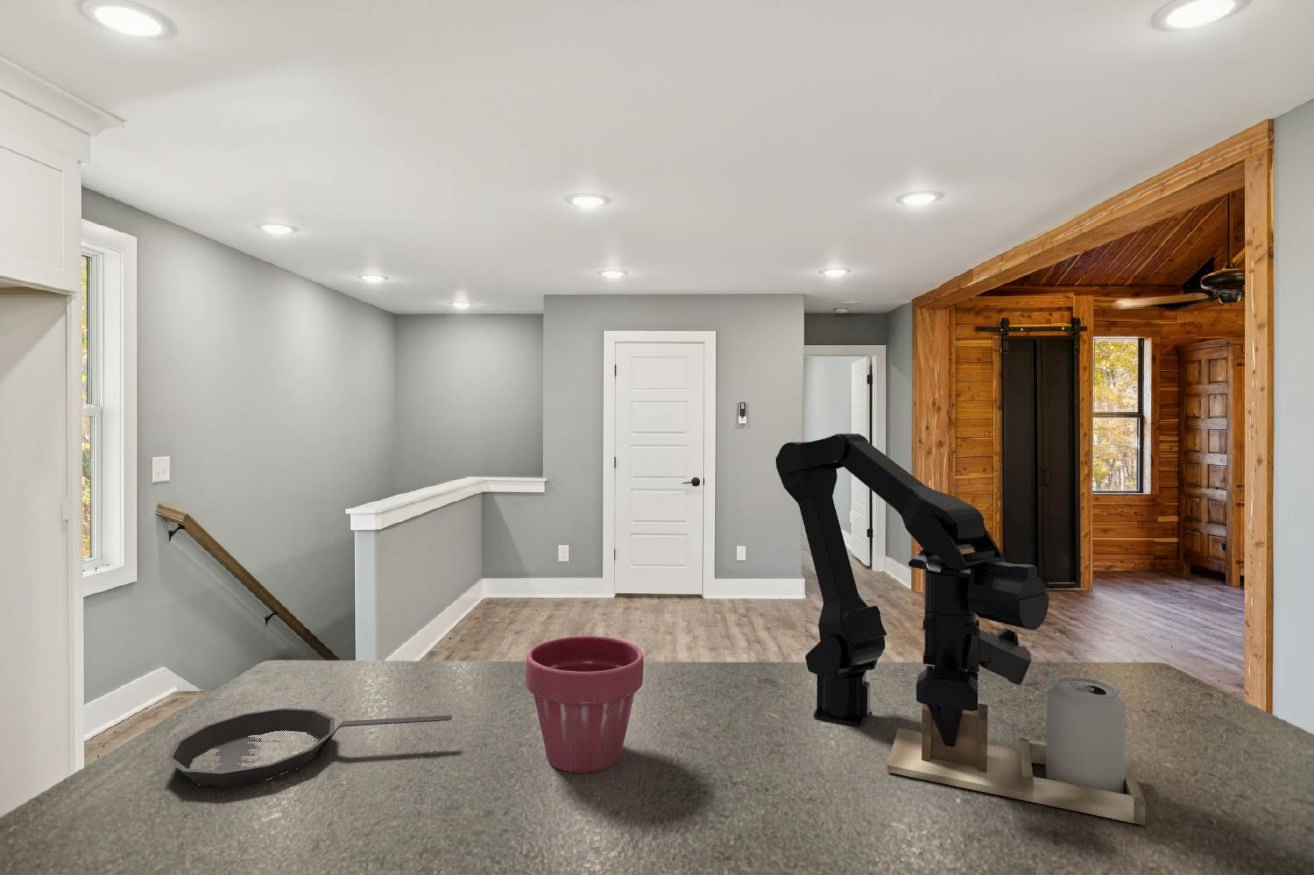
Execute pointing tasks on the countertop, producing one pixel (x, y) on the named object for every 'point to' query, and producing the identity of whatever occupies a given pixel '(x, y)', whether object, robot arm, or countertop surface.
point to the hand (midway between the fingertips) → (950, 739)
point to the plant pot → (584, 698)
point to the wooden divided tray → (1003, 769)
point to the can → (1085, 734)
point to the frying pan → (238, 728)
